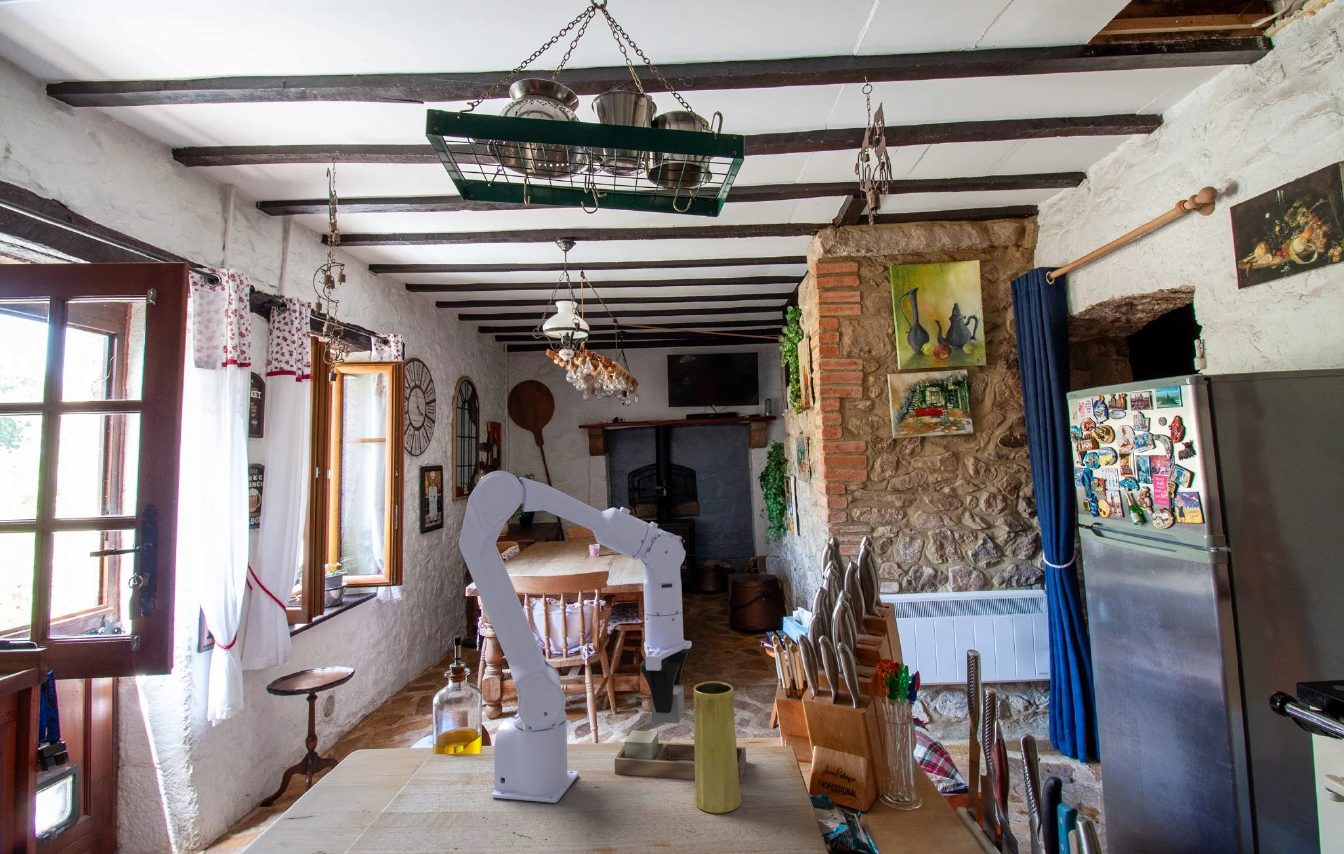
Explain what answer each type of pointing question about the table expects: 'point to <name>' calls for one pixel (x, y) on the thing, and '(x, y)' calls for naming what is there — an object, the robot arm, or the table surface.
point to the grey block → (676, 709)
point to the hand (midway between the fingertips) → (666, 706)
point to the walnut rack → (661, 757)
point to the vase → (715, 748)
